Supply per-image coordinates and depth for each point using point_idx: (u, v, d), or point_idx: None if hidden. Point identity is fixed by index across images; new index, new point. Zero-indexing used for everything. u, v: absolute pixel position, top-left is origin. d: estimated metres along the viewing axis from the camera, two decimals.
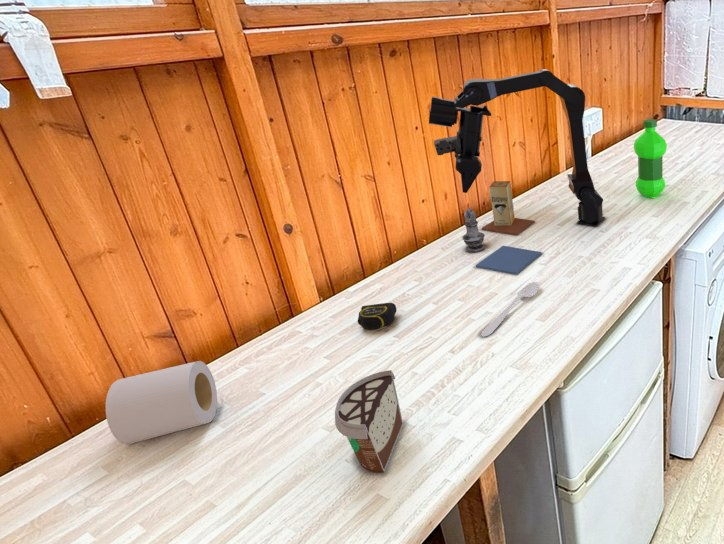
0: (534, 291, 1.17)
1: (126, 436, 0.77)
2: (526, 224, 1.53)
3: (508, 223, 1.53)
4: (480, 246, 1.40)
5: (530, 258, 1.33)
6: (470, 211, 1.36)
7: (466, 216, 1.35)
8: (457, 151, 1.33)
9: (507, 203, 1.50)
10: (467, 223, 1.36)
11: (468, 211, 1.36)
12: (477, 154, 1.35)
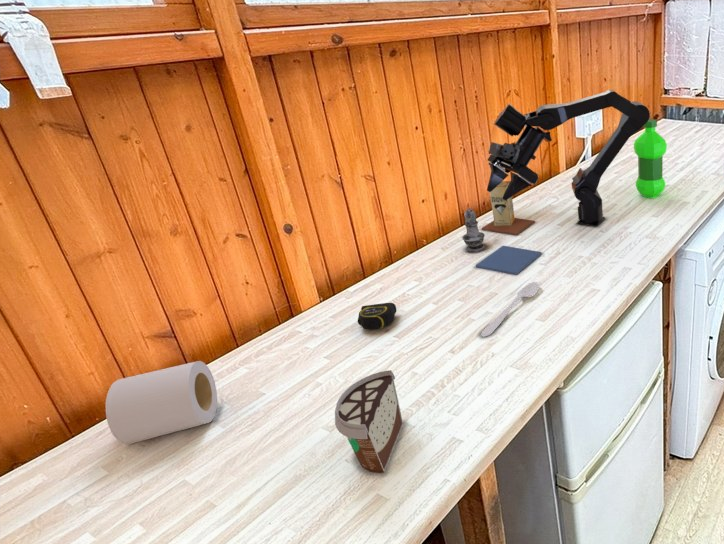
0: (534, 291, 1.17)
1: (126, 436, 0.77)
2: (526, 224, 1.53)
3: (508, 223, 1.53)
4: (480, 246, 1.40)
5: (530, 258, 1.33)
6: (470, 211, 1.36)
7: (466, 216, 1.35)
8: (513, 159, 1.36)
9: (507, 203, 1.50)
10: (467, 223, 1.36)
11: (468, 211, 1.36)
12: None
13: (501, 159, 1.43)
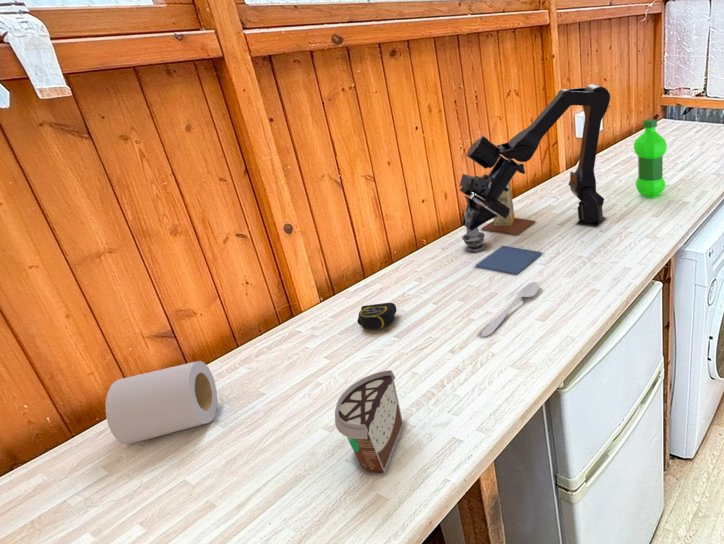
0: (534, 291, 1.17)
1: (126, 436, 0.77)
2: (526, 224, 1.53)
3: (508, 223, 1.53)
4: (480, 246, 1.40)
5: (530, 258, 1.33)
6: (470, 211, 1.36)
7: (466, 216, 1.35)
8: (485, 192, 1.34)
9: (507, 203, 1.50)
10: (467, 223, 1.36)
11: (468, 211, 1.35)
12: None
13: (473, 190, 1.41)
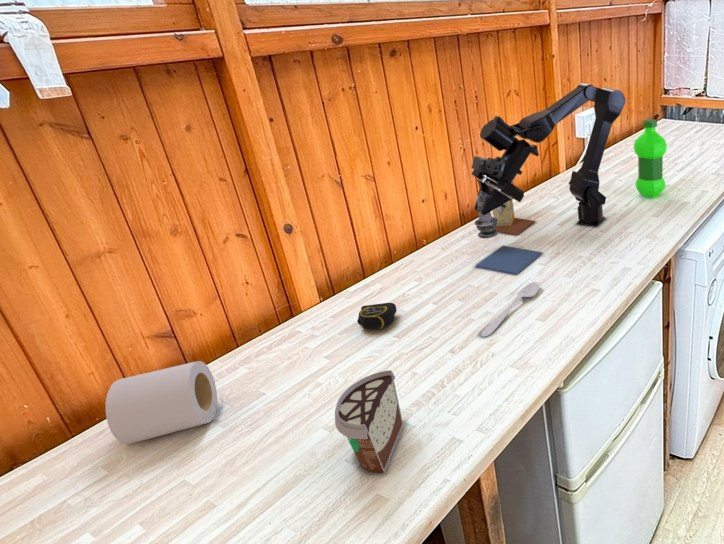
0: (534, 291, 1.17)
1: (126, 436, 0.77)
2: (526, 224, 1.53)
3: (508, 223, 1.53)
4: (493, 232, 1.35)
5: (530, 258, 1.33)
6: (482, 195, 1.30)
7: (478, 200, 1.30)
8: (498, 175, 1.29)
9: (507, 203, 1.50)
10: (479, 207, 1.31)
11: (480, 195, 1.30)
12: None
13: (486, 173, 1.35)
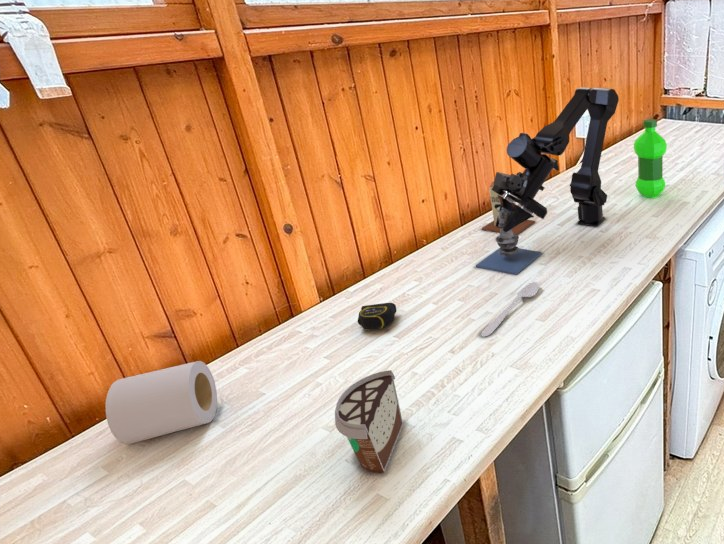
0: (534, 291, 1.17)
1: (126, 436, 0.77)
2: (526, 224, 1.53)
3: None
4: (514, 248, 1.32)
5: (530, 258, 1.33)
6: (504, 211, 1.27)
7: (500, 217, 1.27)
8: (520, 191, 1.26)
9: None
10: (501, 224, 1.28)
11: (502, 211, 1.27)
12: None
13: (506, 189, 1.33)
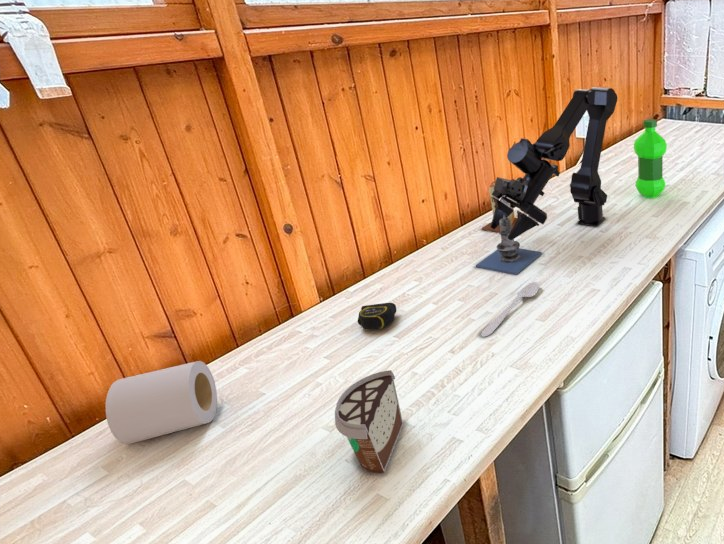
0: (534, 291, 1.17)
1: (126, 436, 0.77)
2: None
3: None
4: (515, 256, 1.33)
5: (530, 258, 1.33)
6: (506, 219, 1.28)
7: (501, 224, 1.28)
8: (520, 196, 1.26)
9: None
10: (502, 231, 1.29)
11: (504, 219, 1.28)
12: None
13: (507, 194, 1.33)
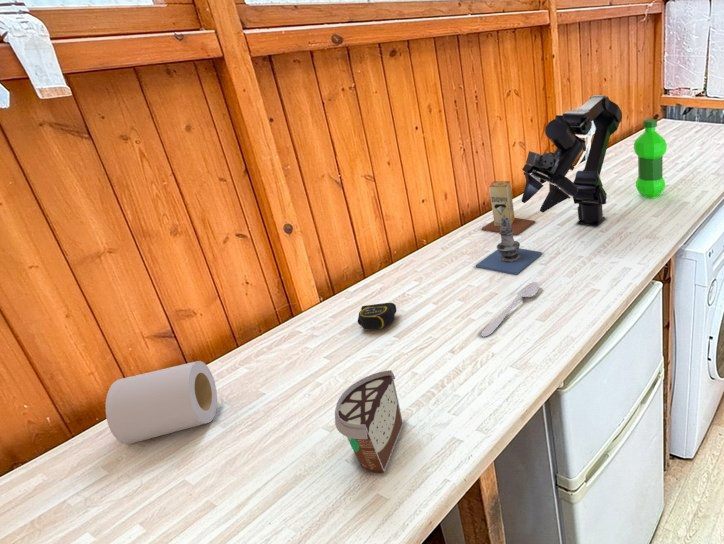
0: (534, 291, 1.17)
1: (126, 436, 0.77)
2: (526, 224, 1.53)
3: None
4: (515, 256, 1.33)
5: (530, 258, 1.33)
6: (506, 219, 1.28)
7: (501, 224, 1.28)
8: (552, 170, 1.30)
9: (507, 203, 1.50)
10: (502, 231, 1.29)
11: (504, 219, 1.28)
12: None
13: (537, 169, 1.37)
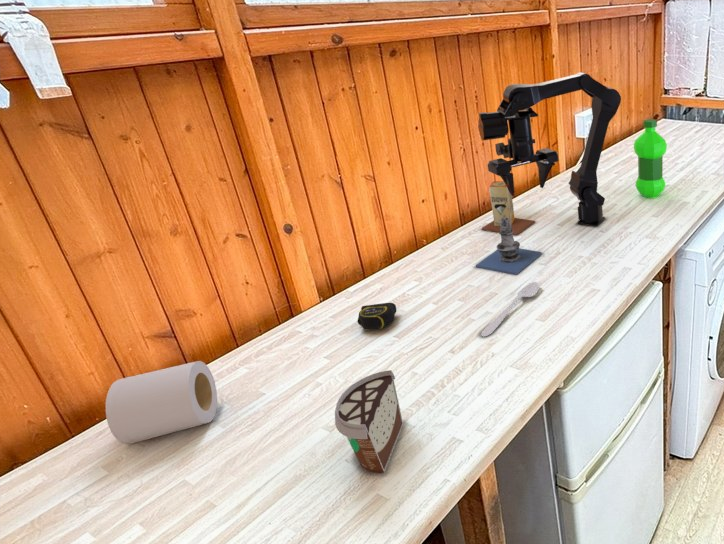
0: (534, 291, 1.17)
1: (126, 436, 0.77)
2: (526, 224, 1.53)
3: None
4: (515, 256, 1.33)
5: (530, 258, 1.33)
6: (506, 219, 1.28)
7: (501, 224, 1.28)
8: (508, 155, 1.38)
9: (507, 203, 1.50)
10: (502, 231, 1.29)
11: (504, 219, 1.28)
12: (519, 159, 1.35)
13: (538, 153, 1.42)
